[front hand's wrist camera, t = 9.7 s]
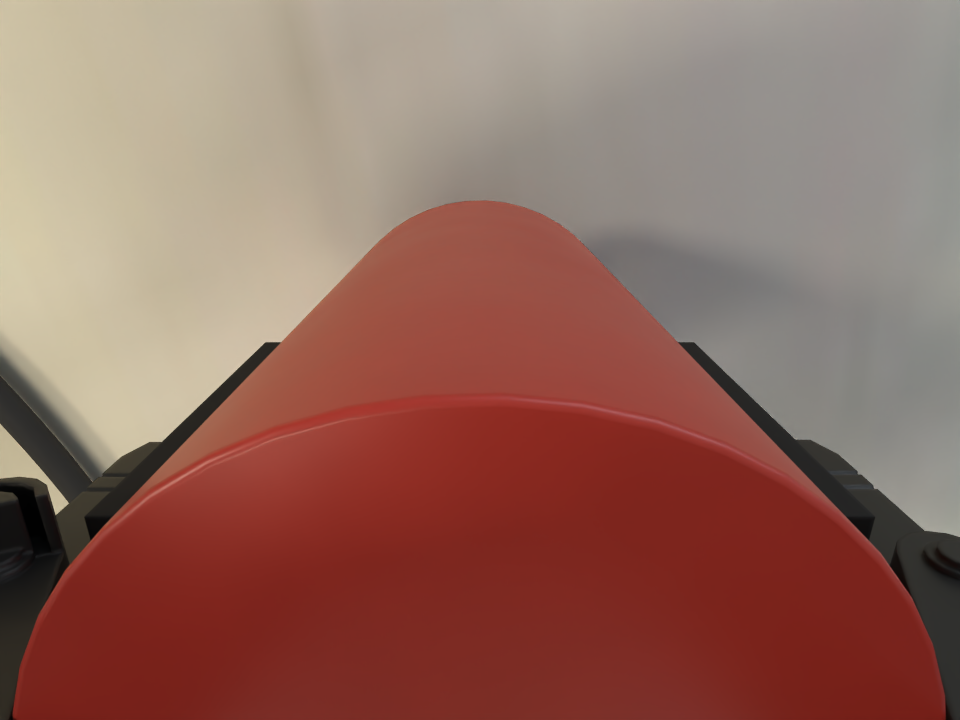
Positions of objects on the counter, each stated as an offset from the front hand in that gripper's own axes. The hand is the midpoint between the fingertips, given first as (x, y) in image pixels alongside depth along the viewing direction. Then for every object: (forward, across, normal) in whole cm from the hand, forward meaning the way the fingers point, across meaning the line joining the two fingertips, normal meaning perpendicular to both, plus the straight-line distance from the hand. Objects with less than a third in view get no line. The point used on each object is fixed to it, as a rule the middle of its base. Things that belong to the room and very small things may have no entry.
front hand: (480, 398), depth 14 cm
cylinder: (+4, 0, 0) cm, 4 cm away
